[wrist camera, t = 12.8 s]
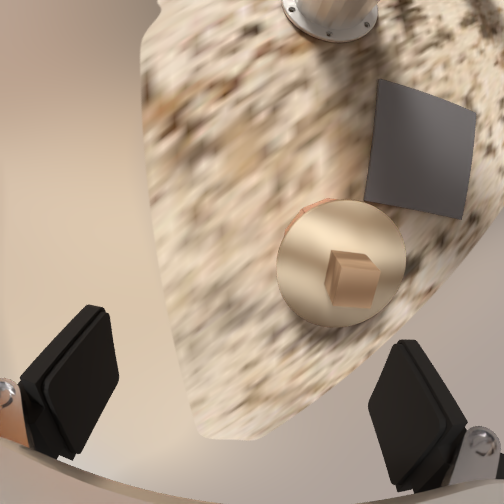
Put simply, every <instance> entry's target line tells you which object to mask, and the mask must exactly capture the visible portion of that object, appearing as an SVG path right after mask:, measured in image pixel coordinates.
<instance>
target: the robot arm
mask: <svg viewBox="0 0 504 504" xmlns="http://www.w3.org/2000/svg"><path fill="white" fill-rule="evenodd" d="M379 1H380V0H281V3H282V7H283V9H284V12H285V14H286V15H287V17H288V18H289V20H290V21H291V22H292V23H293V24H294V25H295V26H296V27H298V28H299V29H300V30H302V31H303V32H305V33H307V34H308V35H310V36H312V37H315V38H318V39H320V40H324V41H329V42H338V43H340V42H350V41H354V40H357V39H359V38H361V37H363V36H364V35H366V34H367V33H368V32H369V31H370V30H371V29H372V28H373V26H374V25H375V23H376V21H377V17H378V7H377V3H378V2H379ZM290 11H293V12H290ZM365 26H366V27H365ZM327 35H329V36H330V37H328V36H327ZM20 379H21V381H20V382H19V383H18V384H16V383H15V382H14V381H12V380H11V379H6V378H0V504H221V503H213V502H206V501H199V500H193V499H187V498H182V497H176V496H171V495H167V494H162V493H157V492H153V491H149V490H145V489H141V488H137V487H133V486H130V485H126V484H123V483H120V482H116V481H113V480H110V479H107V478H104V477H101V476H98V475H95V474H93V473H90V472H87V471H84V470H81V469H79V468H76V467H73V466H71V465H68V464H66V463H63V462H61V461H58V460H57V458H58V456H59V455H60V456H63V457H65V458H68V459H70V460H72V461H73V459H74V457H75V455H76V453H77V454H80V453H81V452H82V450H83V448H84V446H85V444H86V442H87V440H88V438H89V436H90V434H91V433H92V430H93V429H94V427H95V425H96V423H97V421H98V419H99V417H100V415H101V413H102V411H103V410H104V408H105V406H106V404H107V402H108V400H109V398H110V397H111V395H112V393H113V391H114V389H115V387H116V386H117V384H118V381H119V372H118V366H117V361H116V356H115V349H114V343H113V337H112V329H111V322H110V316H109V314H108V313H106V312H105V309H104V308H103V307H98V306H93V305H86V306H85V307H84V308H83V309H82V310H81V311H80V312H79V313H78V314H77V315H76V316H75V317H74V319H72V320H71V322H70V323H69V324H68V325H67V326H66V327H65V328H64V329H63V330H62V331H61V332H60V333H59V334H58V335H57V336H56V337H55V338H54V339H53V341H52V342H51V343H50V344H49V345H48V346H47V347H46V348H45V349H44V350H43V352H42V353H41V354H40V355H39V356H38V357H37V358H36V359H35V360H34V361H33V363H32V364H31V365H30V366H29V367H28V368H27V369H26V371H25V372H24V373H23V374H22V375H21V376H20ZM368 409H369V413H370V416H371V419H372V422H373V425H374V428H375V431H376V434H377V438H378V441H379V444H380V447H381V450H382V454H383V457H384V460H385V464H386V467H387V470H388V474H389V477H390V481H391V483H392V484H393V485H396V489H397V492H402V491H406V490H411V489H412V488H413V491H414V494H411V495H406V496H401V497H396V498H390V499H384V500H378V501H372V502H365V503H357V504H504V454H502V453H500V450H501V444H500V441H499V438H498V437H497V436H496V434H495V433H494V432H493V431H491V430H490V429H488V428H486V427H482V426H475V427H471V428H470V429H469V430H466V428H465V426H466V424H467V423H468V422H467V420H466V418H465V416H464V415H463V413H462V411H461V410H460V408H459V406H458V405H457V403H456V401H455V400H454V398H453V396H452V395H451V393H450V391H449V390H448V388H447V387H446V385H445V383H444V382H443V380H442V379H441V377H440V376H439V374H438V372H437V371H436V369H435V368H434V366H433V365H432V363H431V362H430V360H429V359H428V357H427V355H426V354H425V353H424V351H423V350H422V348H421V347H420V345H419V344H418V342H417V341H416V340H399V341H398V342H397V344H394V345H393V346H392V349H391V351H390V354H389V356H388V359H387V361H386V363H385V366H384V368H383V371H382V373H381V375H380V378H379V380H378V382H377V384H376V387H375V389H374V391H373V393H372V395H371V397H370V400H369V403H368Z"/></svg>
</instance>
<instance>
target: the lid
mask: <svg viewBox="0 0 504 504" xmlns="http://www.w3.org/2000/svg"><path fill="white" fill-rule="evenodd" d="M405 266H406V250H405V245H404V241H403V238H402V235H401V233H400V231H399V229H398V228H397V226H396V225H395V223H394V222H393V221H392V220H391V219H390V218H389V217H388V216H387V215H386V214H385V213H383V212H382V211H381V210H379V209H377V208H376V207H374V206H372V205H370V204H367V203H365V202H361V201H357V200H349V199H343V200H334V201H329V202H326V203H323V204H320V205H318V206H316V207H314V208H312V209H310V210H309V211H307V212H306V213H304V214H303V215H302V216H301V217H299V218H298V219H297V220H296V221H295V222H294V223H293V225H292V226H291V227H290V228H289V230H288V231H287V233H286V234H285V236H284V238H283V240H282V242H281V245H280V248H279V251H278V256H277V264H276V271H277V280H278V285H279V289H280V291H281V294H282V296H283V298H284V300H285V302H286V303H287V304H288V306H289V307H290V308H291V309H292V310H293V311H294V312H295V313H296V314H297V315H299V316H300V317H301V318H303V319H305V320H306V321H308V322H310V323H313V324H315V325H319V326H323V327H347V326H351V325H355V324H358V323H361V322H363V321H365V320H367V319H369V318H371V317H373V316H374V315H376V314H377V313H378V312H380V311H381V310H382V309H383V308H384V307H385V306H386V305H387V304H388V303H389V302H390V301H391V299H392V298H393V297H394V295H395V294H396V292H397V290H398V288H399V286H400V284H401V282H402V279H403V276H404V272H405Z"/></svg>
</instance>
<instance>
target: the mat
mask: <svg viewBox="0 0 504 504" xmlns="http://www.w3.org/2000/svg"><path fill="white" fill-rule="evenodd" d="M475 124H476V113H475V112H473V111H470V110H468V109H466V108H463V107H461V106H459V105H456V104H454V103H451V102H449V101H446V100H444V99H441V98H438V97H436V96H433V95H430V94H427V93H424V92H422V91H419V90H416V89H413V88H410V87H406V86H403V85H400V84H397V83H393V82H390V81H386V80H383V79H378V88H377V100H376V111H375V121H374V130H373V139H372V147H371V155H370V162H369V169H368V176H367V182H366V189H365V195H364V200H365V201H370V202H376V203H382V204H387V205H393V206H398V207H403V208H408V209H413V210H418V211H423V212H428V213H433V214H438V215H442V216H447V217H452V218H456V219H460V220H462V216H463V211H464V206H465V201H466V196H467V190H468V184H469V178H470V171H471V164H472V156H473V147H474V137H475Z"/></svg>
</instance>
